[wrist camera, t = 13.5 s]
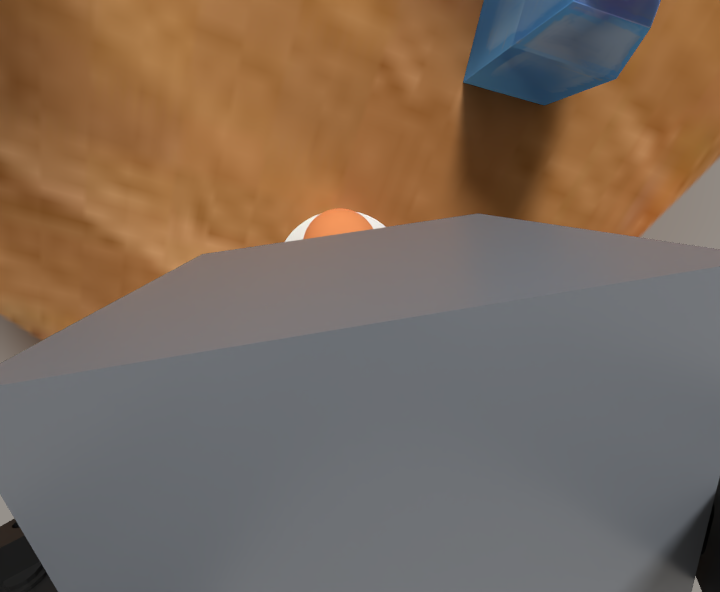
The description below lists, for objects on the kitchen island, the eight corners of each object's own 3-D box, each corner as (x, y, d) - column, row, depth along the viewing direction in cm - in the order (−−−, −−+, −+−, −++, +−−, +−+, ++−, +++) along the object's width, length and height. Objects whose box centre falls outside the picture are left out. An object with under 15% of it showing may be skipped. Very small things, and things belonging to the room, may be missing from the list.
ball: (313, 305, 23) (309, 260, 26) (386, 291, 23) (372, 249, 27) (295, 243, 19) (293, 201, 23) (382, 228, 20) (367, 189, 23)
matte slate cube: (202, 254, 12) (-60, 394, 4) (478, 213, 13) (773, 257, 4) (264, 477, 15) (195, 824, 7) (483, 435, 16) (663, 706, 8)
